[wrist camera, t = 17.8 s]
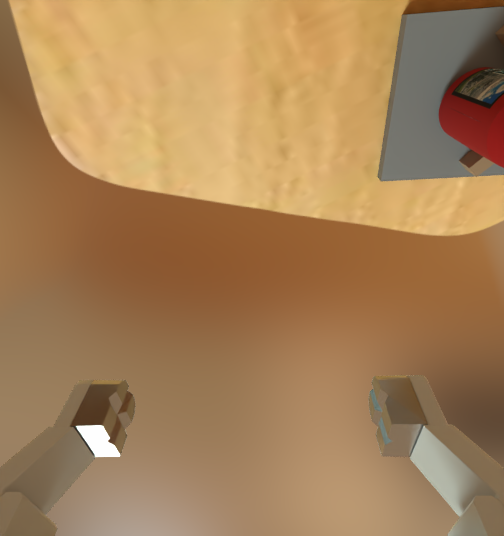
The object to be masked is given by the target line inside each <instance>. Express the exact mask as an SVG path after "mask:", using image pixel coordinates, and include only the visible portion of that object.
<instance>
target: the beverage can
mask: <svg viewBox="0 0 504 536" xmlns="http://www.w3.org/2000/svg"><path fill="white" fill-rule="evenodd" d="M439 122H440V125H441V127H442V129H443V131H444V132H445V133H446V134H448V135H449V136H451V137H452V138H454V139H455V140H457V141H458V142H460V143H462V144H463V145H465V146H466V147H468V148H470V149H471V150H473V151H475V152H476V153H478V154H480V155H481V156H483V157H485V158H486V159H488V160H490V161H491V162H493V163H495V164H497V165H498V166H500V167H503V168H504V70H503V69H497V68H491V67H482V68H477V69H474V70H471V71H469V72H467V73H465V74H464V75H462V76H461V77H459V78H458V79H457V80H456V81H455V82H454V83H453V84H452V85H451V86H450V87H449V89H448V90H447V91H446V93H445V95H444V97H443V99H442V101H441V104H440V107H439Z"/></svg>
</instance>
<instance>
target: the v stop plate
mask: <svg viewBox="0 0 504 536" xmlns="http://www.w3.org/2000/svg"><path fill="white" fill-rule="evenodd" d="M482 67H491V68H497V69H503V70H504V6H502V7H490V8H478V9H466V10H454V11H443V12H431V13H419V14H407V15H402V19H401V26H400V32H399V39H398V45H397V52H396V59H395V65H394V72H393V78H392V85H391V92H390V98H389V105H388V112H387V118H386V125H385V131H384V138H383V145H382V151H381V158H380V164H379V171H378V178H379V179H380V181H396V180H415V179H434V178H453V177H472V176H476V177H477V176H490V175H504V168H503V167H500V166H498V165H497V164H495V163H493V162H491V161H490V160H488V159H486V158H485V157H483V156H481V155H480V154H478V153H476V152H475V151H473V150H471V149H470V148H468V147H466V146H465V145H463V144H462V143H460V142H458V141H457V140H455V139H454V138H452V137H451V136H449V135H448V134H446V133H445V132H444V131H443V129H442V127H441V125H440V122H439V107H440V104H441V101H442V99H443V97H444V95H445V93H446V91H447V90H448V89H449V87H450V86H451V85H452V84H453V83H454V82H455V81H456V80H457V79H458V78H459V77H461V76H462V75H464V74H465V73H467V72H469V71H471V70H474V69H477V68H482Z"/></svg>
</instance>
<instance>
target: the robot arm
mask: <svg viewBox="0 0 504 536" xmlns="http://www.w3.org/2000/svg"><path fill="white" fill-rule="evenodd" d="M372 385H373V389H372V390H371V391H370V394H369V410H370V415H371V419H372V421H373V422H374V423H375V424H376V425H377V426H378V429H377V432H376V437H377V441H378V444H379V448H380V452H381V455H382V456H391V457H392V456H393V457H410V459H411V460H412V462H413V463H414V464H415V465H416V466H417V467H418V468H419V470H420V471H421V472H422V473H423V474H424V476H425V477H426V478H427V479H428V480H429V482H430V483H431V484H432V485H433V486H434V487H435V489H436V490H437V491H438V492H439V493H440V494H441V496H442V497H443V498H444V499H445V500H446V502H447V503H448V504H449V505H450V506H451V507H452V509H453V510H454V511H455V512H456V513H457V515H458V516H459V519H458V520H457V522H456V523H455V524H454V526H453V527H452V528H451V530H450V531H449V533H448V536H504V468H503V467H502V466H501V465H499V464H498V463H497V462H496V461H495V460H494V459H492V458H491V457H490V456H489V455H488V454H486V453H485V452H484V451H483V450H482V449H480V448H479V447H478V446H477V445H476V444H475V443H474V442H472V441H471V440H470V439H469V438H468V437H466V436H465V435H464V434H463V433H462V432H461V431H460V430H458V429H457V428H456V427H455V426H454V425H448V424H447V422H446V420H445V417H444V415H443V413H442V411H441V409H440V407H439V404H438V402H437V400H436V398H435V396H434V394H433V391H432V389H431V387H430V385H429V383H428V381H427V379H426V378H425V377H424V376H422V375H415V376H406V375H399V376H398V375H397V376H375V377H373V380H372ZM128 387H129V385H128V383H127V382H126V380H80V381H79V382H78V383H77V384H76V385H75V386H74V388H73V390H72V392H71V394H70V396H69V398H68V400H67V401H66V403H65V405H64V407H63V409H62V411H61V413H60V415H59V416H58V418H57V420H56V422H55V424H54V426H53V427H48V428H47V429H46V430H44V431H43V432H42V433H41V434H40V435H38V436H37V437H36V438H35V439H34V440H32V441H31V442H30V443H29V444H28V445H26V446H25V447H24V448H23V449H21V450H20V451H19V452H18V453H17V454H15V455H14V456H13V457H12V458H11V459H9V460H8V461H7V462H6V463H5V464H3V465H2V466H1V467H0V536H55V533H56V531H57V526H56V524H55V523H54V522H53V521H52V520H51V519H50V518H48V517H47V516H46V514H47V513H48V512H49V511H50V509H51V508H52V507H53V506H54V505H55V504H56V503H57V501H58V500H59V499H60V498H61V497H62V496H63V494H64V493H65V492H66V491H67V490H68V489H69V488H70V487H71V485H72V484H73V483H74V482H75V481H76V480H77V478H78V477H79V476H80V475H81V474H82V473H83V472H84V470H85V469H86V468H87V467H88V466H89V465H90V463H91V462H92V461H93V460H94V459H95V457H99V456H101V457H102V456H120V455H121V453H122V449H123V447H124V444H125V441H126V438H127V434H126V431H125V428H126V427H128V426H129V425H130V423H131V422H132V420H133V417H134V413H135V399H134V396H133V394H131V393H130V392H128V391H127V390H128Z"/></svg>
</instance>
